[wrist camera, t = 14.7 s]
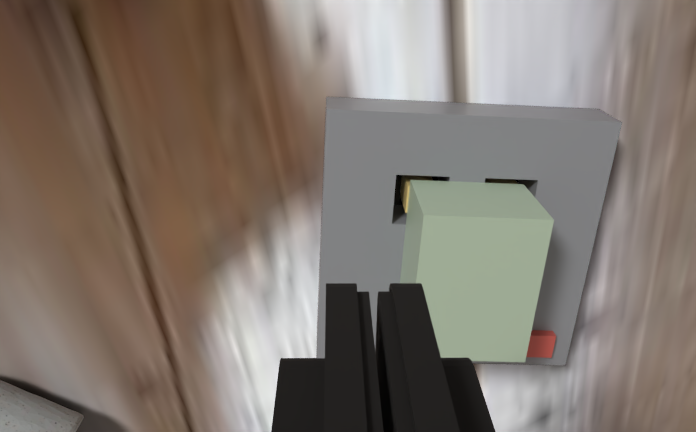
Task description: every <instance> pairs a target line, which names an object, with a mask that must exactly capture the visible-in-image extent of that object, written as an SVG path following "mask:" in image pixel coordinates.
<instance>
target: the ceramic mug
mask: <svg viewBox="0 0 696 432" xmlns="http://www.w3.org/2000/svg"><path fill="white" fill-rule="evenodd" d="M83 417H84V416H83V415H82V414H80V413H78V412H76V411H73V410H71V409H68V408H66V407H63V406H61V405H59V404H56V403H54V402H52V401H49V400H47V399H45V398H42V397H40V396H37V395H35V394H32V393H29V392H27V391H25V390H22V389H20V388H18V387H16V386H13V385H11V384H9V383H6V382H4V381H1V380H0V432H76V431H77V429H78V427H79V426H80V424H81V422H82V420H83Z"/></svg>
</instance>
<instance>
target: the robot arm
mask: <svg viewBox="0 0 696 432" xmlns="http://www.w3.org/2000/svg"><path fill="white" fill-rule="evenodd" d="M272 432H495V429H494V426H493V423H492V420H491V417H490V414H489V411H488V408H487V405H486V402H485V399H484V396H483V393H482V390H481V387H480V384H479V380H478V377H477V374H476V371H475V368H474V365H473V363H472V361H471V359H469V358H441V356H440V352H439V348H438V344H437V341H436V337H435V333H434V329H433V325H432V321H431V317H430V313H429V309H428V306H427V302H426V298H425V294H424V290H423V286H422V284H421V283H390V286H389V291H378V298H377V323H376V348H375V345H374V335H373V326H372V316H371V307H370V297H369V292H357V284H356V283H326V314H325V358H281V360H280V365H279V373H278V381H277V390H276V398H275V407H274V415H273V424H272Z"/></svg>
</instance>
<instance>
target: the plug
mask: <svg viewBox="0 0 696 432" xmlns="http://www.w3.org/2000/svg"><path fill="white" fill-rule="evenodd" d="M400 197H401V201H402V204H403V207H404V210H405V213H407V218H406V228H405V238H404V248H403V258H402V268H401V277H400V283H421V284H422V286H423V290H424V294H425V298H426V302H427V306H428V309H429V313H430V317H431V321H432V325H433V329H434V333H435V337H436V341H437V344H438V348H439V352H440V356H441V358H469V359H471V361H490V362H525V360H526V355H527V351H528V346H529V341H530V336H531V331H532V326H533V321H534V316H535V311H536V306H537V302H538V297H539V292H540V287H541V282H542V277H543V272H544V267H545V262H546V258H547V253H548V248H549V243H550V238H551V233H552V228H553V223H554V219H553V218H552V217H551V216H550V215H549V213H548V212H547V211H546V210H545V209H544V208H543V206H542V205H541V204H540V203H539V202H538V201H537V199H536V198H535V197H534V196H533V195H532V194H531V192H530V191H529V190H528V189H527V188H526V187H525V185H524V184H518V183H517V182H516V181H515V179H494V178H485V183H480V182H455V181H433V179H432V177H431V176H417V175H402V176H401V187H400Z"/></svg>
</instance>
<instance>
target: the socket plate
mask: <svg viewBox="0 0 696 432" xmlns="http://www.w3.org/2000/svg"><path fill="white" fill-rule="evenodd" d="M621 125H622V122H621V121H619V120H617V119H616V118H614V117H612V116H610V115H609V114H607V113H605V112H604V111H602V110H600V109H586V108H564V107H542V106H520V105H498V104H475V103H453V102H431V101H409V100H387V99H365V98H343V97H326V117H325V143H324V168H323V193H322V218H321V244H320V269H319V294H318V320H317V358H325V314H326V283H356V284H357V292H369V297H370V307H371V316H372V326H373V335H374V345H375V348H376V323H377V298H378V291H389V286H390V283H400V277H401V268H402V258H403V248H404V238H405V228H406V218H407V213H405V210H404V207H403V205H394V195H395V184H396V175H417V176H439V178H438V181H455V182H480V183H485V178H494V179H520V180H519V184H524V185H525V187H526V188H527V189H528V190H529V191H530V192H531V194H532V195H533V196H534V197H535V198H536V199H537V201H538V202H539V203H540V204H541V205H542V206H543V208H544V209H545V210H546V211H547V212H548V213H549V215H550V216H551V217H552V218H553V219H554V223H553V228H552V233H551V238H550V243H549V248H548V253H547V258H546V262H545V267H544V272H543V277H542V282H541V287H540V292H539V297H538V302H537V306H536V311H535V316H534V321H533V326H532V331H531V336H530V341H529V346H528V351H527V355H526V360H525V362H490V361H472V363H482V364H527V365H566V360H567V356H568V352H569V347H570V343H571V339H572V335H573V330H574V326H575V322H576V317H577V313H578V309H579V305H580V300H581V296H582V292H583V287H584V283H585V279H586V275H587V270H588V266H589V262H590V257H591V253H592V249H593V245H594V240H595V236H596V232H597V227H598V223H599V219H600V215H601V210H602V206H603V202H604V198H605V193H606V189H607V185H608V180H609V176H610V172H611V168H612V163H613V159H614V155H615V150H616V146H617V142H618V138H619V133H620V129H621Z"/></svg>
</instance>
